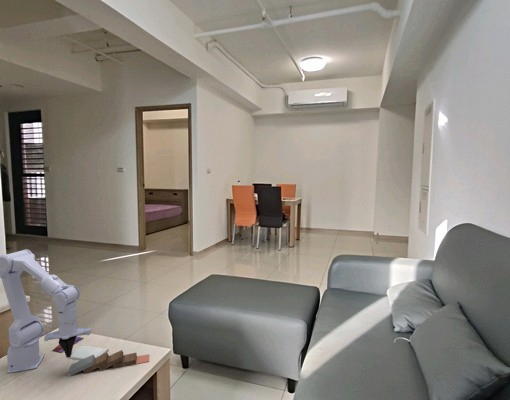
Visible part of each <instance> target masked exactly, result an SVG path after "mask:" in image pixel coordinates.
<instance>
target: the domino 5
mask: <svg viewBox="0 0 510 400" xmlns="http://www.w3.org/2000/svg"><path fill="white" fill-rule="evenodd" d="M149 362H150V353H149V354H142V355H137V358H136V364H131V365H127V366H126V367H129V366H135V365H139V364H146V363H147V364H148V363H149Z"/></svg>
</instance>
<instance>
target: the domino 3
mask: <svg viewBox="0 0 510 400" xmlns="http://www.w3.org/2000/svg"><path fill="white" fill-rule="evenodd" d="M123 355H125V354H124V351H123V349H121V350H119V351H117V352H114V353H112V354H109V357H108V361H107V364H105V365H102V366H100V367H98V368H99V371H100V372H101V371H104V370H106V369H107V368H110V367H113V365H114V364H116V363H118V362H120V361H122V358H123Z"/></svg>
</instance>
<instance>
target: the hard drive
mask: <svg viewBox="0 0 510 400" xmlns="http://www.w3.org/2000/svg"><path fill="white" fill-rule="evenodd" d="M108 352H109V348H104V347H103V348H102V347H97V346H88V345H81V346H79V347H78V348H76V350H74V351H72V354H71V357H67V360H68V359H69V360H74V361H80V360H82V359H84V358H86V357H89V356H91V355H93V354H94V356H95V358H96V357H98V356H100V355H103V354H105V353H108Z"/></svg>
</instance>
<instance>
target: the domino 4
mask: <svg viewBox="0 0 510 400" xmlns="http://www.w3.org/2000/svg"><path fill="white" fill-rule="evenodd" d="M137 354H138V353H137V352H132V353H128V354H123V358H122V361H120V362H118V363H116V364H114V365H112V367H113V369H118V368H122V367H128V366H127V365H130V366H132V365H131V364H136V358H137V356H138V355H137ZM136 365H137V364H136Z"/></svg>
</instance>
